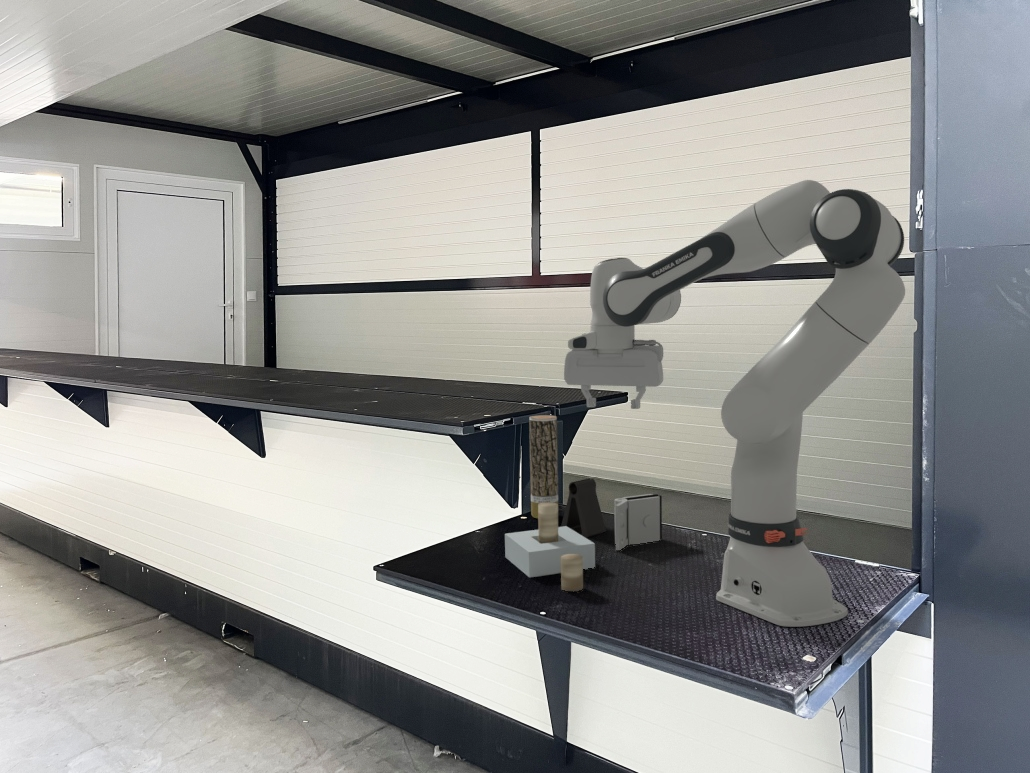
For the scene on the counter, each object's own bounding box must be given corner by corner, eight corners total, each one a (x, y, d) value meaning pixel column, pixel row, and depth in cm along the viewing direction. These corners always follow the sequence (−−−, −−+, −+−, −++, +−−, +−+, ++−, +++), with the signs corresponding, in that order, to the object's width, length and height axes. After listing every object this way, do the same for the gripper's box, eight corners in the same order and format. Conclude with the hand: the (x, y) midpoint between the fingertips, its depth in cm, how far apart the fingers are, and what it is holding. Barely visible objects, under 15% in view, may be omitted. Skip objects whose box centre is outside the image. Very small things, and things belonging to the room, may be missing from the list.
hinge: (618, 552, 169) (617, 505, 168) (601, 546, 174) (600, 501, 173) (665, 540, 177) (664, 495, 176) (647, 535, 182) (647, 491, 181)
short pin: (586, 590, 147) (586, 558, 146) (566, 594, 145) (566, 561, 145) (577, 584, 151) (577, 552, 150) (558, 587, 149) (557, 555, 149)
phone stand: (606, 532, 184) (605, 481, 183) (588, 537, 181) (587, 485, 179) (578, 525, 191) (577, 475, 190) (560, 530, 187) (559, 479, 186)
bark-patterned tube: (563, 517, 198) (562, 417, 196) (540, 521, 195) (538, 419, 193) (549, 511, 204) (547, 414, 202) (526, 515, 201) (524, 416, 199)
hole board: (595, 567, 159) (594, 543, 159) (529, 577, 155) (528, 552, 154) (566, 548, 173) (566, 526, 172) (505, 557, 168) (504, 533, 167)
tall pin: (561, 564, 162) (560, 505, 161) (543, 566, 161) (542, 508, 160) (554, 558, 166) (553, 501, 165) (536, 560, 165) (535, 503, 164)
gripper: (667, 339, 161) (667, 407, 162) (571, 339, 169) (572, 404, 171) (659, 340, 155) (659, 411, 156) (560, 340, 164) (561, 408, 165)
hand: (613, 407), depth 164 cm, fingers open, 8 cm apart
